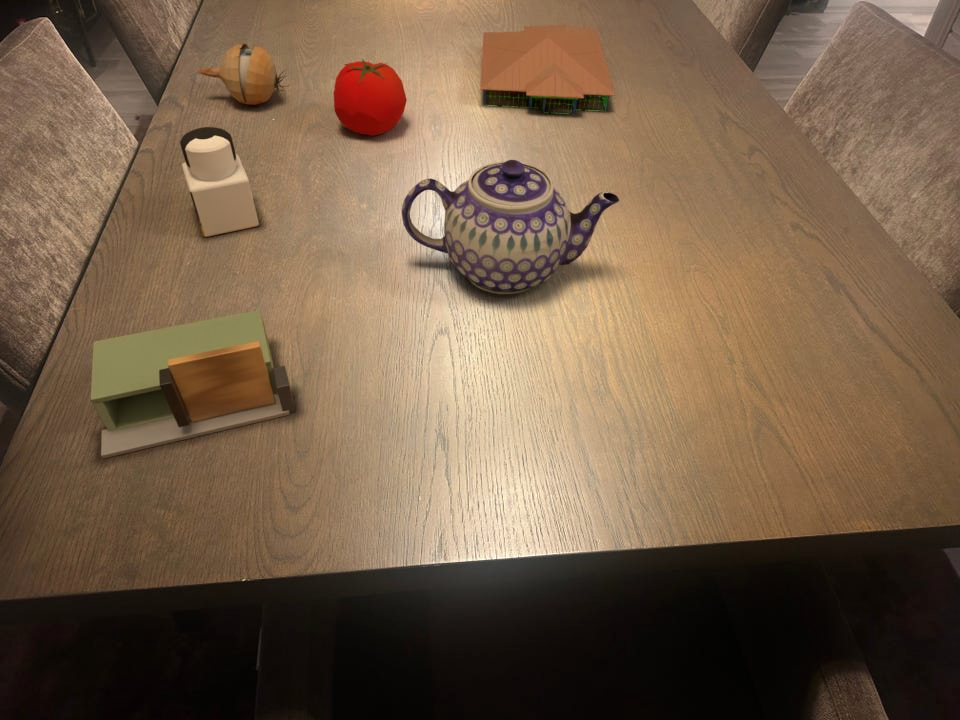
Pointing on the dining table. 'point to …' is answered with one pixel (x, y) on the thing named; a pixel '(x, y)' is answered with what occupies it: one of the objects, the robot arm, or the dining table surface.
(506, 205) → the teapot
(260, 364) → the sliding door
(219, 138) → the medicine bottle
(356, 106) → the tomato
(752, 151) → the dining table surface
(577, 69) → the house
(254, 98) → the split yellow onion
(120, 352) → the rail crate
